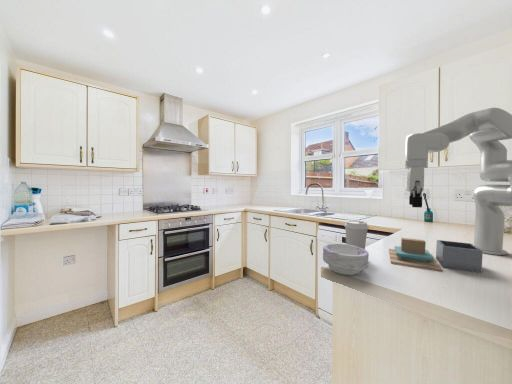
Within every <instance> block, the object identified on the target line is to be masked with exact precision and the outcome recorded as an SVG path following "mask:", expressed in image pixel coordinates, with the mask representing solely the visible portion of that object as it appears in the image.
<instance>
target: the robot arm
mask: <svg viewBox="0 0 512 384" xmlns="http://www.w3.org/2000/svg"><path fill="white" fill-rule="evenodd" d="M466 137H469V139H470V140H471V142H472V143H473V144H475V146H476V147H477V148H478V150H479V153H480V159H479V160H480V162H479V163H480V164H479V179H481V181H484V182H492V183H493V182H494V183H498V182H500V183H501V182H503V183H507V182H509V184H482V185H479V186H477V187H475V189H474V190H473V200H474V205H475V219H474V236H473V245H475V246H476V247H478V248H479V249H481V250H482V251H483V254H488V255H497V256H506V255H508V251H507V250H505V249H503V248H504V247H503V246H504V231H505V230H504V228H505V213H504V212H503V209H502V208H501V207H500V206H502V207H512V159H509V160H508V149H507V148H506V146H505V145H504V144H503V143H502V142H501V141H504V140H511V139H512V114H511V113H510V112H508V111H507V110H505V109H502V108H500V107H490V108H486V109H480V110H477V111H473V112H469V113H467V114H464V115H463V116H460V117H458V118H456V119H454V120H453V121H450V122H448V123H446V124H445V123H444V124H443V125H440V126H438V127H435V128H432V129H430V130H427V131H425V132H421V133H418V132H417V133H411V134H409V135H407V136H406V138H405V161H404V162H405V163H404V164H405V167H404V168H405V169H407V176H406V180H407V181H406V191H407V192H408V193H409V198H408V199H409V200H408V201H409V203H408V204H409V205H410V206H411V207H412V208H422V207H423V192H424V187H425V169H428V166H429V154H430V153H438V152H441V151H444V150H446V149H447V148H449V146H450V143H453V142H458V141H461V140H463V139H465V138H466Z"/></svg>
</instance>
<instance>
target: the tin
mask: <svg viewBox="0 0 512 384" xmlns="http://www.w3.org/2000/svg"><path fill="white" fill-rule="evenodd" d="M483 254H484V253H483V251H482V250H481V249H479V248H478V247H476V246H475V245H474V243H468V242H461V241H459V242H458V241H451V240H441V239H436V249H435V260H436V261H437V262H438V264H439V265H440V267H441V268H447V269H453V270H458V271H459V270H460V271H467V272H473V273H478V274H479V273H480V274H482V269H483Z"/></svg>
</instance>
